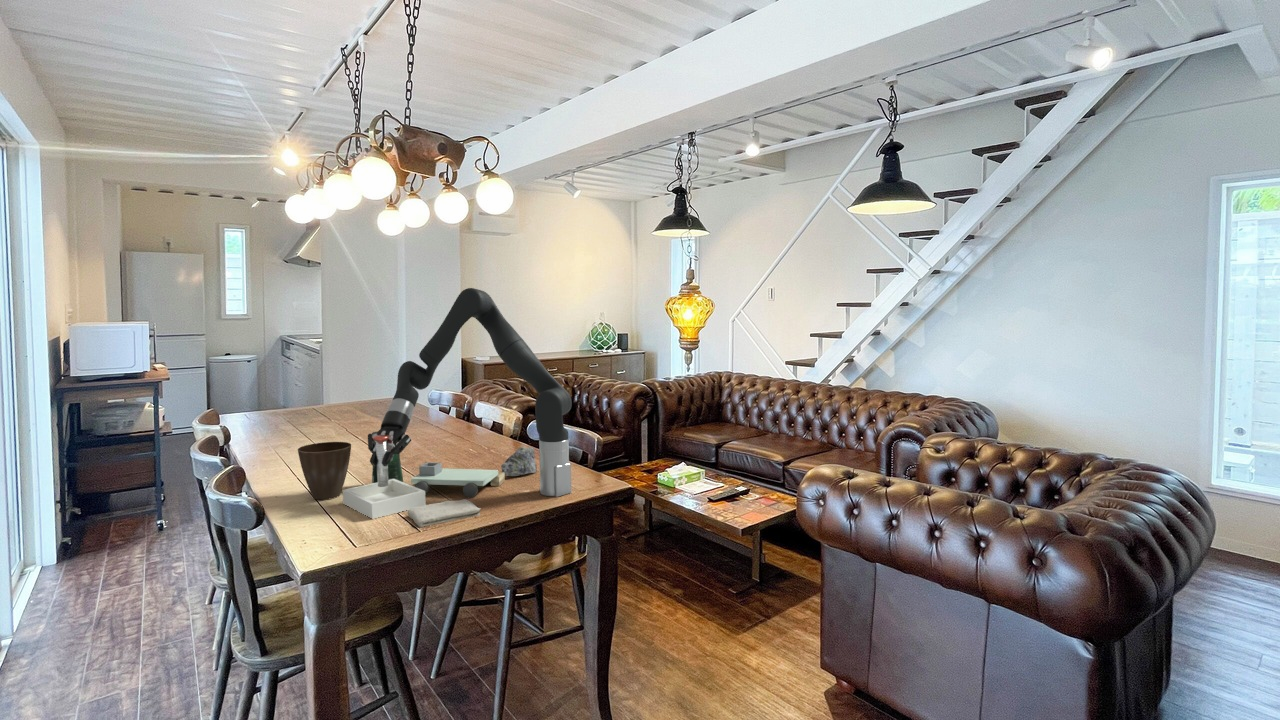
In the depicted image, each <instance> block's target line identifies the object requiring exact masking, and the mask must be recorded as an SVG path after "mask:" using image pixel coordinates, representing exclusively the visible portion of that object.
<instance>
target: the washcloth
mask: <svg viewBox="0 0 1280 720" xmlns="http://www.w3.org/2000/svg"><path fill="white" fill-rule="evenodd" d="M481 509H482V508H481V507H477V505H476V504H474V503H473V502H472V501H471V500H468V499H466V498H465V499H464V498H463V499H460V500H444V501H441V502H436V503H430V504H426V505H425V506H421V507H414V508H412V509H410V510H407V511H406V512H407V513H406V514H407V516H408V518H410V519H411V520H412V519H413V521H414V524H416V525H417V527H419V528H425V527H430V526H429V525H431V526H434V525H433V524H435V525H439V524H438V523H440V524H445V523H450V522H454V521H453V520H455V521H458V519H460V520H463V518H464V519H468V518H467V517H470V518H474V517H473V516H475V517H479V515H480V516H481V513H480V510H481ZM449 521H450V522H449ZM424 526H425V527H424Z"/></svg>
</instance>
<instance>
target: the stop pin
mask: <svg viewBox="0 0 1280 720" xmlns="http://www.w3.org/2000/svg"><path fill="white" fill-rule="evenodd" d="M387 439H389V435H377V436H373V440H376V457H377V481H378V487H386V486H388V485H389V484H388V465H387V466H383V464H382V460H383V458H384V455H385V453H386V452H387Z"/></svg>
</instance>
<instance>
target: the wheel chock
mask: <svg viewBox="0 0 1280 720" xmlns="http://www.w3.org/2000/svg"><path fill="white" fill-rule="evenodd" d="M505 478H506V476H505V473H502V471H501V472H500V471H498V475H497V476H496V477H495V478H493V479H492V480H491V483H490V486H491V487H500V486H501V484H502V483H503V482H504V483H505V481H506V479H505ZM504 483H503V484H504ZM503 484H502V485H503Z"/></svg>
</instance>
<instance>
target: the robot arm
mask: <svg viewBox="0 0 1280 720" xmlns="http://www.w3.org/2000/svg"><path fill="white" fill-rule="evenodd" d="M472 318H474V319H475V320H476V321H477V322H478V323H480V324H481V327H483V328H484V329H485V330H486V331H487V333H488V335H489V336H490V340H491V342H492V344H493V348H494V349H495V352H496V353H497V355H498V357H499V358H500V359H501V360H502V362H503V363H504V364H505V365H506V366H507V368H508V369H509V370H510V371H512V372H513V373H514V374H515V375H516V376H518V377H519V378H521V379H522V380H524V381H525V382H527V383H528V384H529V385H530V386H531V387H533V389H535V391H536V392H537V393H538V395H537V397H536V399H535V405H534V408H535V409H534V410H535V428H536V432H537V434H538V440H539V441H538V446H539V451H538V453H539V487H540V488H539V490H540V491H539V493H540V494H541V495H542V496H545V497H555V498H557V497H558V498H559V497H561V496H564V495H568V494H572V464H571V463H570V456H569V455H570V454H569V452H570V451H569V447H570V446H569V445H570V443H569V430H568V429H567V428H565V426H564V417H563V416H565V415H567V414H568V413H570V411H571V409H572V406H573V405H572V404H573V402H572V401H573V400H572V397H571V394H570V393H569V392H568V391H567V390H566V388H564V386H563V385H561V383H559V381H557V380H556V379H555V377H554V376H552V374H551V373H550V372H549V371H548V370H547V368H546V366H544V364H543V363H542V362H541V360H540V359H539V358H538V357H537V355H535V353H534V352H533V350H532V349H531V348H530V347H529V345H528V344H527V343H526V341H525V340H524V338H522V337H521V335H519V333H518V332H517V331H516V329H515V328H514V327H513V326H512V325H511V324H510V323H509V322H508V321H507V319H506V318H505V317H504V316H503V314H502V312H501V310H500V309H499V307H498V306H497V305H496V303H495V302H494V299H492V297H491V295H490V294H488V293H487V292H485V291H484V290H481V289H477V288H474V287H467V288H465V289H463V290H461V292H460V293H459V294H458V295H457V297H456V299H455V301H454V302H453V304H452V306H451V308H450V310H449V311H448V313H447V315H446V316H445V318H444V320H443V321H442V323H441V324H440V326H439V327H438V329H437V330H436V331H435V333H434V334H433V336H432V337H431V338H430V339H429V340H428V342H427V343H426V344H425V345H424V346H423V348H422V349H421V350H420V351H419V354H418V355H419V356H418V357H419V359H420V360H421V361H422V362H423V363H424V364H425V365H426V366H427V367H426V368H425V367H423V366H422V365H419V364H418V363H416V362H414V361H412V360H407V361H405V362H403V363H402V364H401V365H400V367H399V368H398V369H399V370H398V373H397V383H396V391H395V393H394V396H393V398H392V399H391V402H390V404H389V406H388V408H387V410H386V412H385V415H384V417H383V419H382V422H381V424H380V429H379V430H378V431H376V432H377V434H373V435H372V433H368V434H367V449H368V450H369V452H370V453H371V457H370V458H369V462H370V465H371V466H372V467H373V466H376V464H377V457H376V446H375V442H376V440H373V436H377V435H389V439H387V445H388V449H387V451H388V452H386V453H385V455H384V458H383V460H382V464H383V466H387V465H388V464H389V463H390V461H391V458H392V456H393V455H394V454H401V453H402V452H403V451H404V450H405V449H406V448H407V446H408V445H409V444H410V443H411V442H412V438H411V437H410V435H409V434H406V433H407V429H408V427H409V424H410V422H411V420H412V418H413V414H414V410H415V407H416V404H417V402H418V399H419V391H421V390H425V389H426V388H427V387H429V386H430V384H431V382H432V379H433V378H434V377H433V376H434V374H435V372H436V371H437V368H438V366H439V365H440V363H441V362H442V361H443V360H444V358H446V356H447V355H448V354H449V352H450V351H451V349H452V347H453V346H454V343H455V341H456V338H457V336H458V333H459V332H460V330H461V329H462V327H463V326H464V325H465V324H466V323H467V322H468V321H469V320H470V319H472ZM418 390H419V391H418ZM400 440H401V441H400ZM399 441H400V442H399ZM398 442H399V443H398ZM397 443H398V444H397Z"/></svg>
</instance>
